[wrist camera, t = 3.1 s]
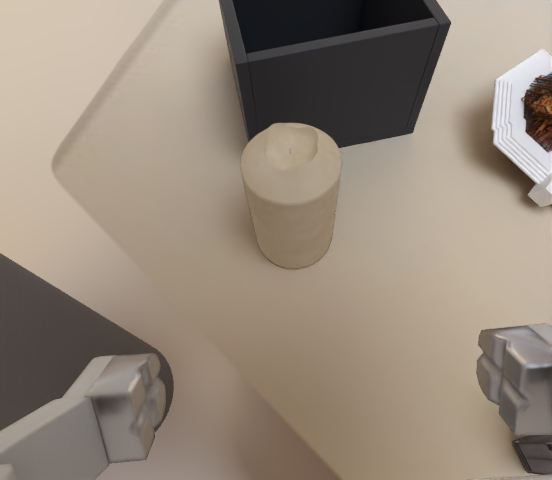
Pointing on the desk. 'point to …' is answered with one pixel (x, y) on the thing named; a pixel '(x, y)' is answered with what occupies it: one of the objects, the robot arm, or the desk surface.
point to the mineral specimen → (527, 121)
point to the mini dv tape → (535, 453)
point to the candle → (292, 191)
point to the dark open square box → (334, 63)
